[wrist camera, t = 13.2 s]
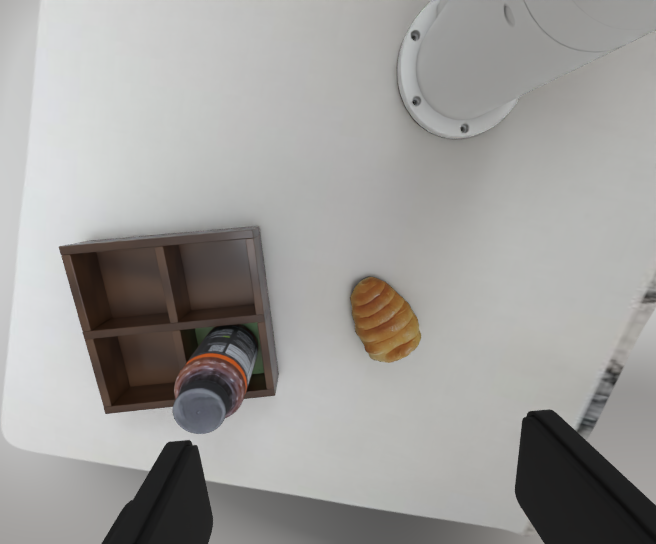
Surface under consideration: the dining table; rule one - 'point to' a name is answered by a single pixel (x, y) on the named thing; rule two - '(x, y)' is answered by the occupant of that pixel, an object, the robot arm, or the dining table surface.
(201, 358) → the supplement bottle
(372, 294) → the pastry
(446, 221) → the dining table surface
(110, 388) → the grid
